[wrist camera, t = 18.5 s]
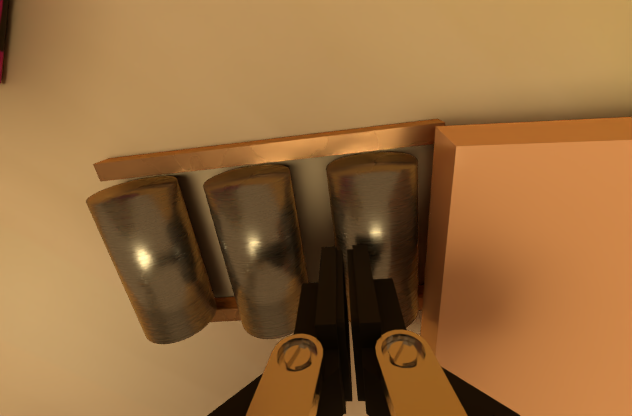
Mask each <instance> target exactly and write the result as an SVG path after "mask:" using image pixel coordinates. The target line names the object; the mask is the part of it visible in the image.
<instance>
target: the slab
mask: <svg viewBox="0 0 632 416" xmlns="http://www.w3.org/2000/svg"><path fill="white" fill-rule="evenodd" d="M420 336H421V337H422V338H424V339H425V340H426V342H427V343H428V344H429V345H430V347H431V349H432V351H433V353H434V355H435V356H436V358H437V360H438V362H439V364H440V366H441V367H443V368H445V369H446V370H448V371H449V372H451V373H453V374H454V375H456V376H458V377H459V378H461V379H462V380H464V381H466V382H467V383H469V384H471V385H472V386H474V387H475V388H477V389H479V390H480V391H482V392H484V393H485V394H487V395H488V396H490V397H492V398H493V399H495V400H497V401H498V402H500V403H501V404H503V405H505V406H506V407H508V408H510V409H511V410H513V411H514V412H516V413H518V414H519V415H520V416H632V117H619V118H599V119H578V120H557V121H537V122H516V123H495V124H474V125H454V126H436V127H435V141H434V155H433V169H432V183H431V196H430V210H429V224H428V238H427V251H426V265H425V279H424V293H423V307H422V320H421V334H420Z"/></svg>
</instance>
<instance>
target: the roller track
mask: <svg viewBox="0 0 632 416" xmlns="http://www.w3.org/2000/svg"><path fill="white" fill-rule="evenodd" d="M436 126H445V122H443V121H441V120H439V119H431V120H423V121H415V122H406V123H398V124H390V125H382V126H373V127H365V128H357V129H348V130H340V131H332V132H324V133H315V134H307V135H299V136H290V137H282V138H274V139H265V140H257V141H249V142H241V143H232V144H224V145H216V146H207V147H199V148H191V149H183V150H174V151H166V152H158V153H149V154H141V155H133V156H125V157H116V158H108V159H106V160H103V161H100V162H98V163H95V164H93V165H94V167H95V170H96V172H97V174H98V177H99V179H100V181H108V180H117V179H126V178H134V177H143V176H152V175H161V174H170V173H179V172H188V171H197V170H206V169H215V168H224V167H232V166H241V165H250V164H259V163H268V162H277V161H286V160H295V159H304V158H313V157H322V156H331V155H339V154H348V153H357V152H366V151H375V150H384V149H393V148H402V147H411V146H420V145H429V144H434V141H435V127H436ZM326 171H327V179H328V187H329V195H330V204H331V212H332V220H333V228H334V237H335V245H336V248H337V250H342V252H343V262H344V273H345V284H346V294H347V305H348V319H349V321H350V322H351V314H350V296H349V278H348V261H347V249H353V248H352V245H363V244H367V247H368V253H369V259H370V264H371V270H372V276H373V279H386V278H392V279H393V282H394V286H395V289H396V293H397V297H398V300H399V304H400V308H401V311H402V315H403V319H404V323H405V326H406V327H407V326H409V325H410V324H411V323H412V322H413V321H414V320H415V318H416V317H417V314H418V310H422V307H423V293H424V284H423V285H418V160H417V158H416V157H414V156H412V155H409V154H406V153H400V152H369V153H361V154H355V155H350V156H346V157H343V158H340V159H337V160H335V161H333V162H331V163H330V164H328V165H327V167H326ZM203 187H204V191H205V194H206V198H207V201H208V205H209V208H210V212H211V215H212V219H213V222H214V226H215V229H216V233H217V237H218V240H219V244H220V247H221V251H222V254H223V258H224V261H225V265H226V268H227V272H228V275H229V279H230V282H231V286H232V289H233V293H234V296H235V297H222V298H214V295H213V291H212V288H211V285H210V282H209V279H208V276H207V272H206V269H205V266H204V263H203V260H202V257H201V253H200V250H199V247H198V244H197V241H196V237H195V234H194V231H193V228H192V225H191V222H190V218H189V215H188V212H187V209H186V206H185V203H184V199H183V196H182V193H181V190H180V187H179V184H178V180H177V178H176V177H174V176H154V177H147V178H142V179H137V180H132V181H128V182H125V183H121V184H118V185H115V186H112V187H109V188H106V189H104V190H101V191H99V192H97V193H95V194H93V195H92V196H90V197H89V198H88V199H87V200H86V203H87V205H88V208H89V210H90V212H91V214H92V217H93V219H94V221H95V223H96V226H97V228H98V230H99V232H100V235H101V237H102V239H103V241H104V244H105V246H106V248H107V250H108V253H109V255H110V257H111V259H112V261H113V264H114V266H115V268H116V270H117V273H118V275H119V277H120V279H121V282H122V284H123V286H124V288H125V291H126V293H127V295H128V297H129V300H130V302H131V304H132V306H133V309H134V311H135V313H136V315H137V318H138V320H139V322H140V324H141V327H142V329H143V331H144V333H145V336H146V337H147V339H148V340H149V341H151V342H153V343H157V344H170V343H175V342H178V341H181V340H184V339H186V338H189V337H191V336H193V335H194V334H196V333H198V332H199V331H200V330H202V329H203V328H204V327H205V326H206V325H208V323H209V322H219V321H237V320H241V321H242V325H243V327H244V329H245V330H246V331H247V332H248V333H249V334H250V335H252V336H254V337H257V338H262V339H274V338H280V337H284V336H287V335H289V334H291V333H293V332H294V330H295V324H296V318H297V312H298V306H299V299H300V293H301V287H302V284H303V283H308V277H307V271H306V265H305V259H304V253H303V247H302V241H301V235H300V229H299V223H298V217H297V211H296V205H295V199H294V193H293V188H292V182H291V176H290V170H289V168H288V167H286V166H284V165H278V164H262V165H253V166H247V167H242V168H237V169H233V170H230V171H226V172H223V173H221V174H218V175H216V176H214V177H212V178H210V179H208V180H207V181H206V182H205V183H204V185H203Z"/></svg>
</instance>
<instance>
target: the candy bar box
mask: <svg viewBox="0 0 632 416" xmlns="http://www.w3.org/2000/svg"><path fill="white" fill-rule="evenodd" d="M7 10H8V0H0V83H1V78H2V66H3V55H4V40H5V33H6V20H7Z"/></svg>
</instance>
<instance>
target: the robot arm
mask: <svg viewBox="0 0 632 416" xmlns="http://www.w3.org/2000/svg"><path fill="white" fill-rule="evenodd" d="M352 248H353V249H347V261H348V278H349V296H350V314H351V328H352V340H353V351H354V362H355V373H356V384H357V395H358V401H365V403H366V413H367V414H368V415H369V416H520V415H519V414H518V413H516V412H514V411H513V410H511V409H510V408H508V407H506V406H505V405H503V404H501V403H500V402H498V401H497V400H495V399H493V398H492V397H490V396H488V395H487V394H485V393H484V392H482V391H480V390H479V389H477V388H475V387H474V386H472V385H471V384H469V383H467V382H466V381H464V380H462V379H461V378H459V377H458V376H456V375H454V374H453V373H451V372H449V371H448V370H446V369H445V368H443V367H441V366H440V364H439V362H438V360H437V358H436V356H435V355H434V353H433V351H432V349H431V347H430V345H429V344H428V343H427V342H426V340H425V339H424V338H422V337H421V336H420V335H418V334H416V333H414V332H411V331H407V330H406V326H405V323H404V319H403V315H402V311H401V308H400V304H399V300H398V297H397V293H396V289H395V286H394V282H393V279H392V278H386V279H373V276H372V270H371V264H370V259H369V253H368V247H367V244H363V245H352ZM346 401H352V382H351V361H350V340H349V319H348V305H347V294H346V284H345V273H344V262H343V252H342V250H337V248H336V246H334V247H322V249H321V261H320V272H319V282H317V283H303V284H302V287H301V293H300V299H299V306H298V312H297V318H296V324H295V330H294V335H291V336H288V337H286V338H284V339H282V340H281V341H280V342H279V343H278V344H277V345H276V346H275V348H274V349H273V351H272V353H271V355H270V358H269V360H268V363H267V365H266V368H265V370H264V372H263V374H262V375H260V376H259V377H258V378H256V379H255V380H254V381H252V382H251V383H250V384H248V385H247V386H246V387H244V388H243V389H242V390H240V391H239V392H238V393H236V394H235V395H234V396H232V397H231V398H230V399H228V400H227V401H226V402H225V403H223V404H222V405H221V406H219V407H218V408H217V409H215V410H214V411H213V412H211V413H210V414H209V415H207V416H343V414H346Z"/></svg>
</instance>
